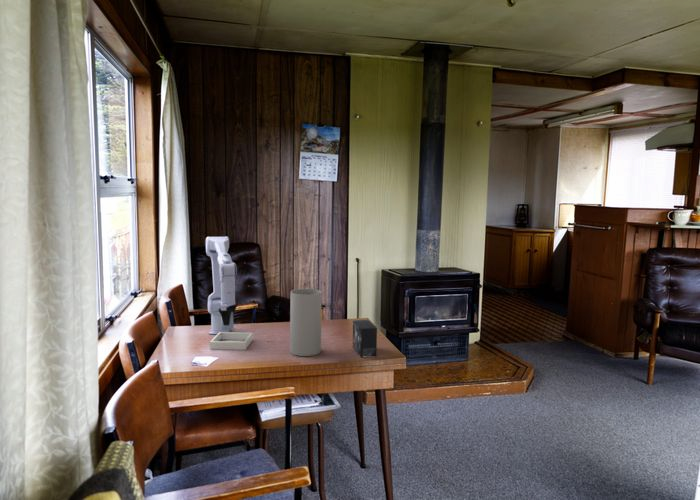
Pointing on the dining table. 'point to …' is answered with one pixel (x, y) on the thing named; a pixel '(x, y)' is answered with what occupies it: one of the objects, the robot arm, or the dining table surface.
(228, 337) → the grey shallow square tray
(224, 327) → the cylinder
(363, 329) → the small box
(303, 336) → the cylinder vase
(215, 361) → the dining table surface
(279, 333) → the dining table surface
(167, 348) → the dining table surface
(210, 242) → the robot arm
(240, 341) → the pad
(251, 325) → the dining table surface
